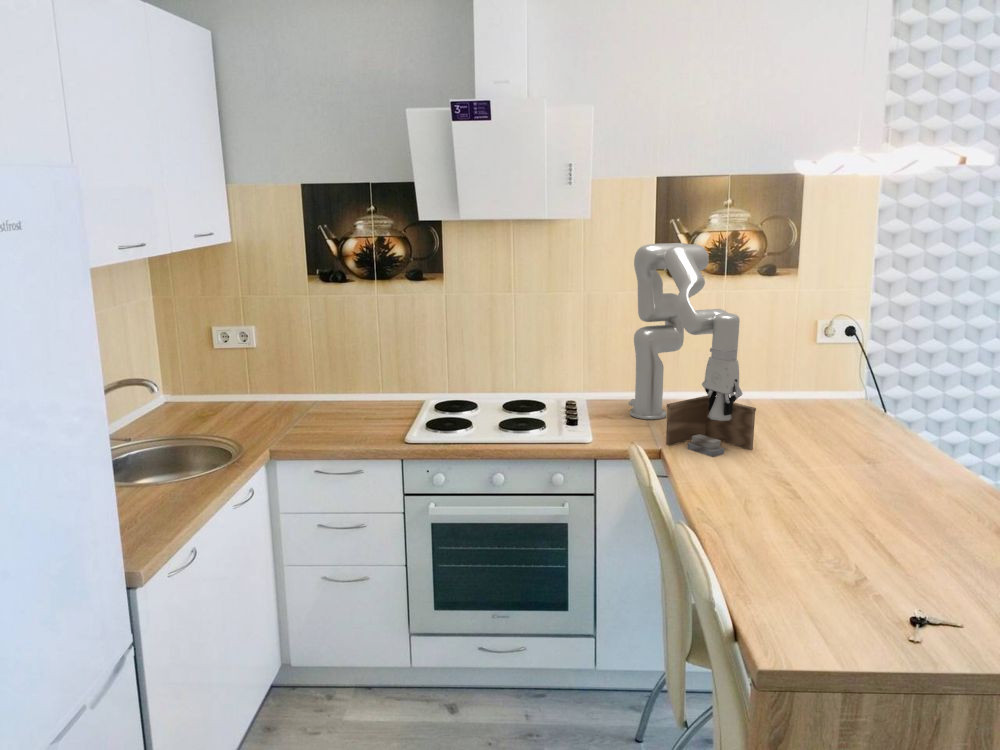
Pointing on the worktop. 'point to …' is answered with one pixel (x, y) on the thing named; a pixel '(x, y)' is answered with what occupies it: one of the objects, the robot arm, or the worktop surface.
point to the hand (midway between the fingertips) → (720, 411)
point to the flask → (719, 409)
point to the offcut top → (706, 442)
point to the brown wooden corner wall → (709, 423)
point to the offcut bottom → (705, 450)
